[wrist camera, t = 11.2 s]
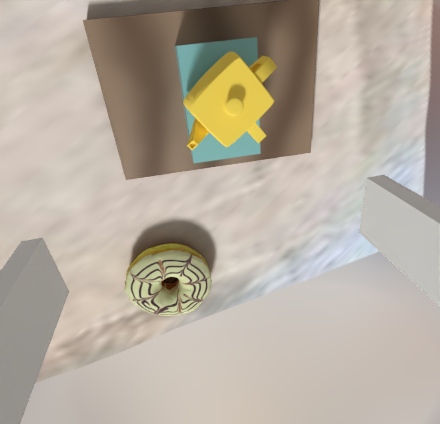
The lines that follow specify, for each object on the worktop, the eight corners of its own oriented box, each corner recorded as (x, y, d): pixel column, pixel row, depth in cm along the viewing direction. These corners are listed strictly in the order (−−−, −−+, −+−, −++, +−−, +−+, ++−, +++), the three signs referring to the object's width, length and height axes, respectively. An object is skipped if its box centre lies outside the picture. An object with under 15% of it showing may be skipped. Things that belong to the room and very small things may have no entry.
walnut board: (127, 175, 32) (126, 179, 31) (86, 21, 25) (82, 20, 24) (306, 149, 34) (310, 152, 33) (313, -1, 27) (319, -3, 26)
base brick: (189, 147, 30) (193, 163, 26) (174, 46, 26) (176, 45, 22) (247, 138, 31) (260, 153, 27) (242, 38, 27) (257, 37, 22)
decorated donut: (144, 309, 42) (142, 332, 39) (114, 250, 37) (109, 270, 33) (216, 289, 42) (220, 310, 39) (197, 227, 37) (200, 245, 34)
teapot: (214, 161, 26) (224, 185, 22) (164, 113, 24) (164, 128, 19) (284, 93, 25) (310, 104, 20) (238, 33, 22) (257, 30, 18)
